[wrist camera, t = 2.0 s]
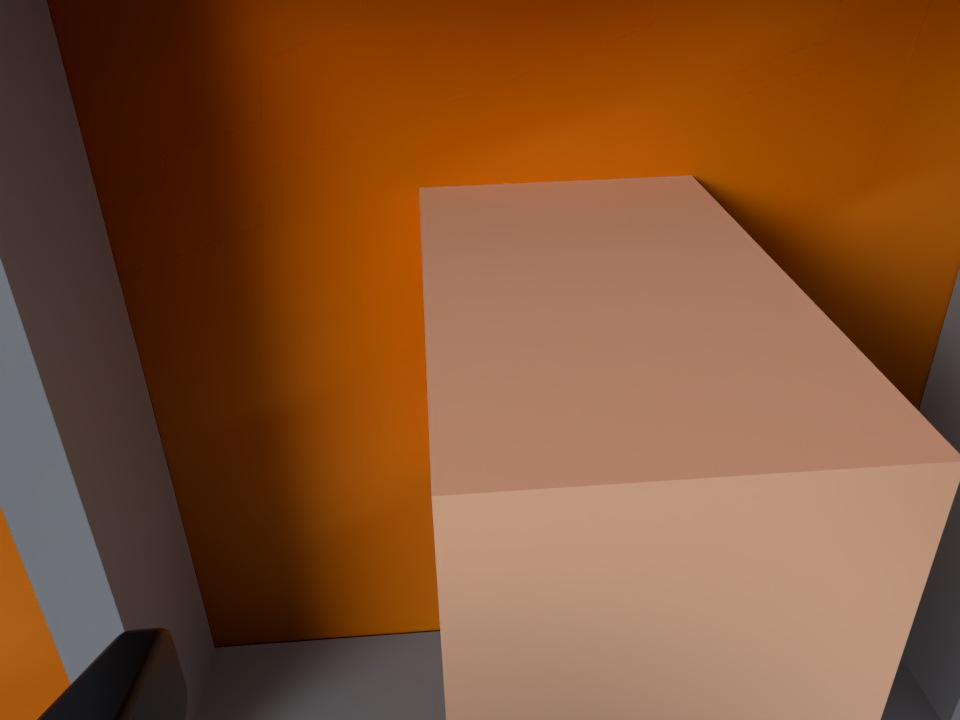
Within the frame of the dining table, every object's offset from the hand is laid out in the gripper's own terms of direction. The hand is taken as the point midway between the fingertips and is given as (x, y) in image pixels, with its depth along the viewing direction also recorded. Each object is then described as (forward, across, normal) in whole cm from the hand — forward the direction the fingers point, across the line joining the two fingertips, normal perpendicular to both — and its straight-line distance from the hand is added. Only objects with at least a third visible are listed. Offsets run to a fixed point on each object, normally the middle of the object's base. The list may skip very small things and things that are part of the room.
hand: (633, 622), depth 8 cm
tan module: (+6, 0, 0) cm, 6 cm away
